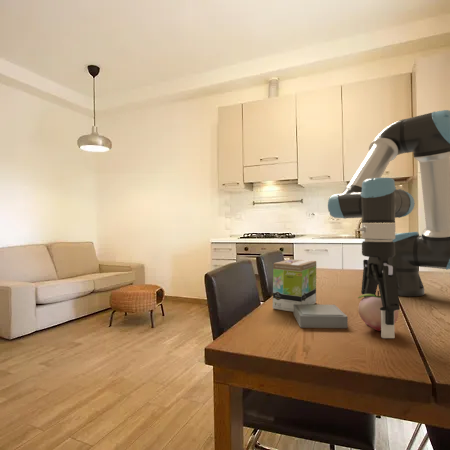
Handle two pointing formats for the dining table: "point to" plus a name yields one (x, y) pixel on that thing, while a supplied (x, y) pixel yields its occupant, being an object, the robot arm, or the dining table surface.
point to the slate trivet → (320, 316)
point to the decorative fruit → (372, 310)
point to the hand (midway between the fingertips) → (378, 330)
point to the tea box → (294, 283)
